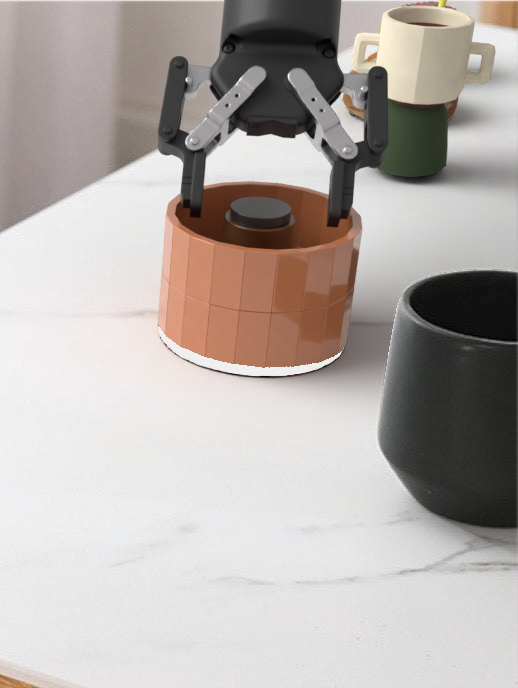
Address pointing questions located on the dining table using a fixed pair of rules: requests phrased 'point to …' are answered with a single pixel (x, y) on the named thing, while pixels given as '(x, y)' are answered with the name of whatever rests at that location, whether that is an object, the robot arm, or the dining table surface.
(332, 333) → the pot
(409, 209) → the dining table surface
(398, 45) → the character mug
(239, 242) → the spice shaker
